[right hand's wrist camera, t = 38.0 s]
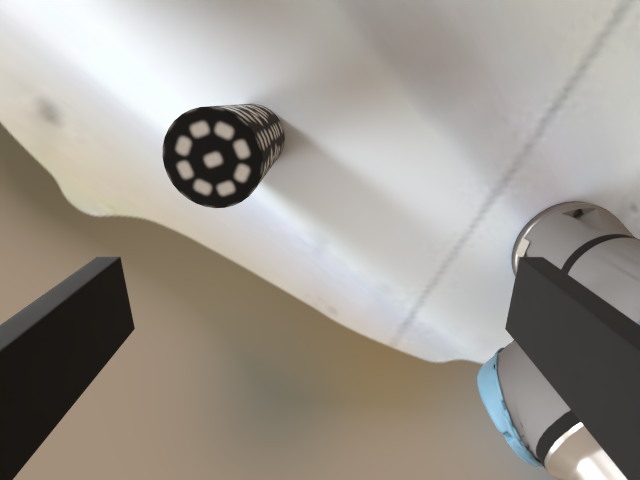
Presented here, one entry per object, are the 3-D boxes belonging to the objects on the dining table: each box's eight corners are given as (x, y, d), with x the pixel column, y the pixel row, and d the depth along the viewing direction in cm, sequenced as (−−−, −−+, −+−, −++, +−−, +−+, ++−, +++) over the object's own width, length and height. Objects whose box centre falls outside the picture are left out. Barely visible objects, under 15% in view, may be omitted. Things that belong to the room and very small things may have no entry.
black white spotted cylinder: (270, 94, 48) (239, 91, 30) (293, 156, 51) (278, 189, 32) (211, 116, 49) (144, 127, 31) (236, 176, 52) (190, 220, 33)
